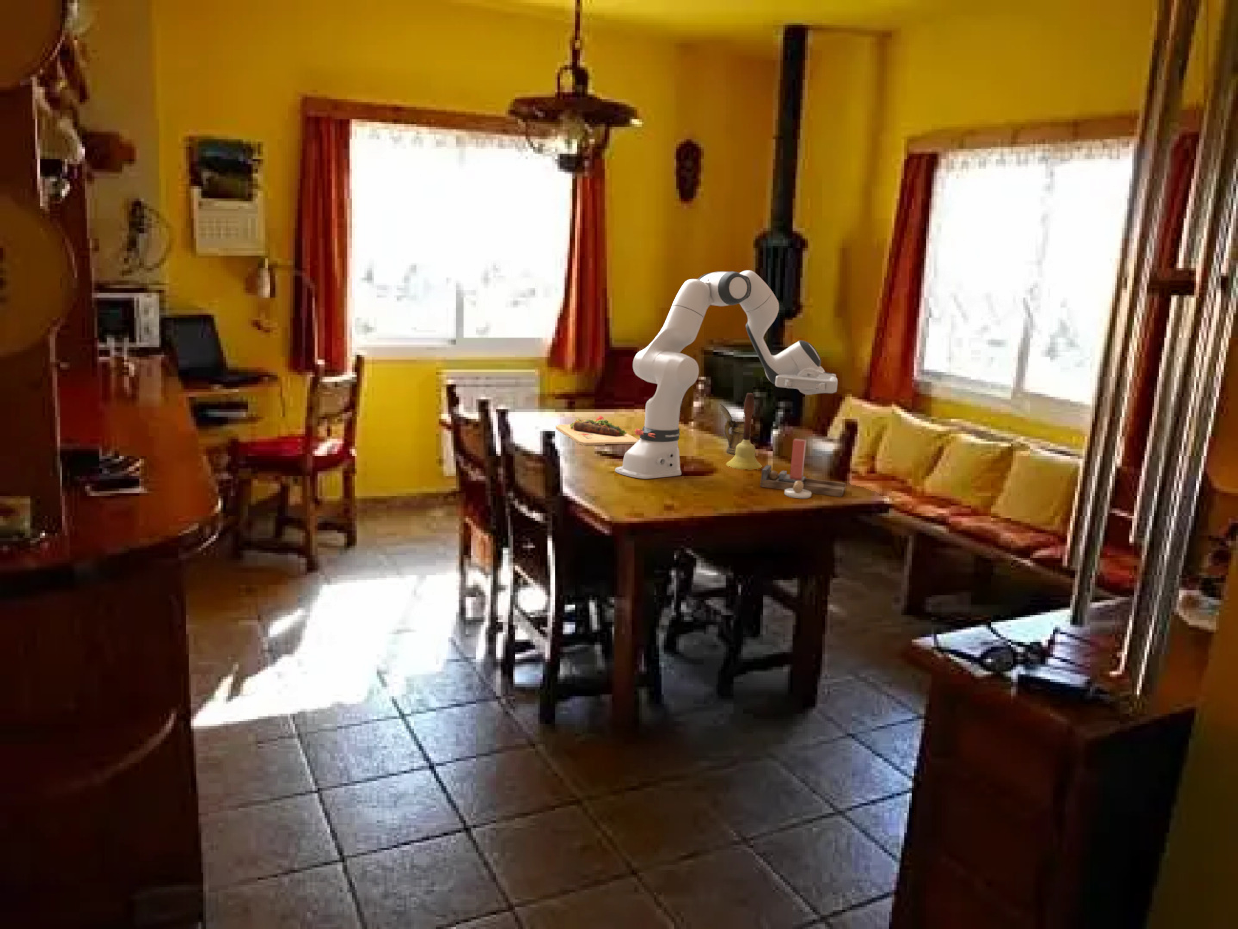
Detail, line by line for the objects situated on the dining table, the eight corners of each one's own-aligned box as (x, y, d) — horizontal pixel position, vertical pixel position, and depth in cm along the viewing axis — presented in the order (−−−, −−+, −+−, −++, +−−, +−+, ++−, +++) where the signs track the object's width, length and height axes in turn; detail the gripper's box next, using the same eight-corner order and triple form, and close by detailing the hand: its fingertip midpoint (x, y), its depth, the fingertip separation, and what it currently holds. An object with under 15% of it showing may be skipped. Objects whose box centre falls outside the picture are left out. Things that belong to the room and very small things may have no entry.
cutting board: (554, 429, 382) (554, 410, 380) (609, 428, 390) (610, 410, 388) (581, 447, 350) (582, 426, 348) (641, 446, 358) (643, 426, 356)
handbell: (752, 461, 338) (758, 390, 333) (768, 469, 327) (775, 396, 321) (720, 462, 334) (725, 390, 329) (735, 470, 323) (741, 396, 317)
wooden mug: (711, 450, 353) (714, 401, 349) (744, 450, 357) (748, 402, 353) (721, 455, 345) (725, 405, 341) (755, 455, 349) (759, 406, 345)
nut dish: (801, 499, 287) (802, 486, 286) (779, 494, 293) (780, 480, 292) (816, 496, 293) (817, 482, 292) (794, 490, 298) (795, 477, 297)
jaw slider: (778, 482, 301) (782, 439, 298) (781, 478, 307) (785, 436, 304) (802, 485, 299) (806, 442, 296) (805, 481, 305) (809, 439, 302)
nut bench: (760, 486, 301) (761, 470, 300) (765, 480, 310) (767, 464, 309) (841, 496, 294) (843, 480, 292) (844, 489, 303) (846, 473, 302)
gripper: (779, 369, 327) (772, 373, 315) (840, 374, 321) (835, 378, 308) (777, 387, 329) (770, 392, 316) (838, 393, 323) (833, 398, 310)
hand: (803, 385), depth 312 cm, fingers open, 8 cm apart
